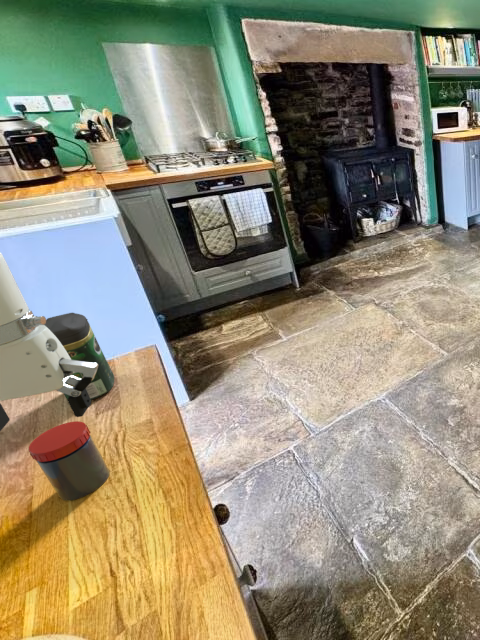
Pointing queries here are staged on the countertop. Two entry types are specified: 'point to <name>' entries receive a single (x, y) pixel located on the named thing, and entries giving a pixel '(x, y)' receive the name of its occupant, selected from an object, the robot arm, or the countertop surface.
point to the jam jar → (77, 472)
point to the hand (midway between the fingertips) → (43, 419)
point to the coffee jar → (82, 350)
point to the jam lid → (59, 441)
